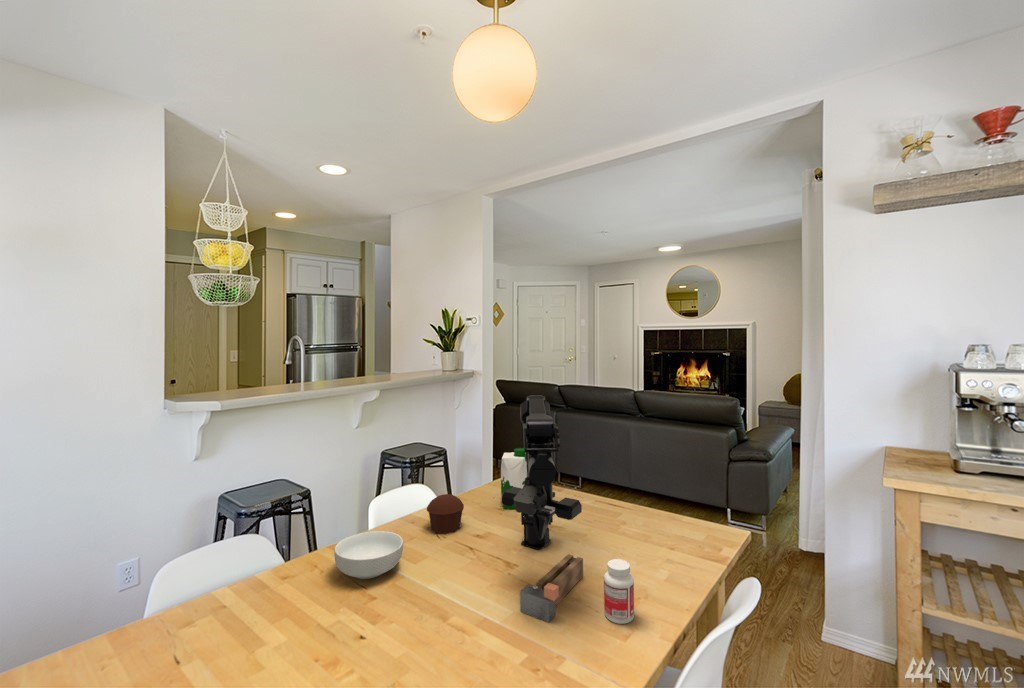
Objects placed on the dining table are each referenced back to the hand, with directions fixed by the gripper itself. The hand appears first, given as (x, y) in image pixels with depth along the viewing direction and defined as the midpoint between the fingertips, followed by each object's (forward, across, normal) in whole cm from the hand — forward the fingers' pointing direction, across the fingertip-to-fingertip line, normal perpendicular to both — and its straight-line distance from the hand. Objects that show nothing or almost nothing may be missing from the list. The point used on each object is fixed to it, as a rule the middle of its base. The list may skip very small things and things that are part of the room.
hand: (540, 538), depth 107 cm
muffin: (+12, -42, +14) cm, 46 cm away
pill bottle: (+12, +19, 0) cm, 23 cm away
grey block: (+12, +4, -8) cm, 15 cm away
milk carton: (+12, -34, +41) cm, 55 cm away
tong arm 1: (+12, +3, +2) cm, 13 cm away
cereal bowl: (+12, -41, -16) cm, 46 cm away
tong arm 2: (+12, +5, +2) cm, 13 cm away
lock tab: (+8, +7, -8) cm, 13 cm away
